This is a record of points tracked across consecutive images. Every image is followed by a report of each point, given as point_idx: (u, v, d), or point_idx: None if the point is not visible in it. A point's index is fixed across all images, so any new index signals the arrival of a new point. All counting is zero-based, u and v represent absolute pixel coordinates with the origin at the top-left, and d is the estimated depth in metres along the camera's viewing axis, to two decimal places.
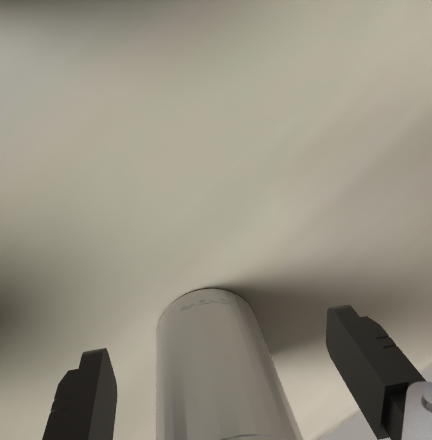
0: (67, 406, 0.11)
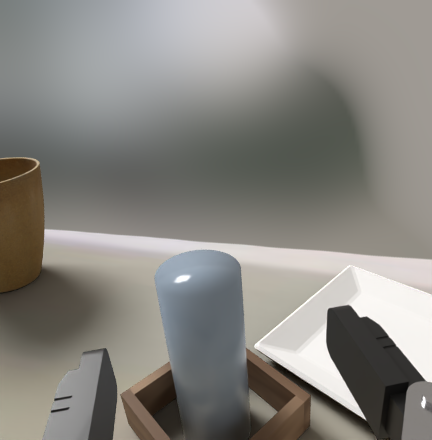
0: (67, 406, 0.11)
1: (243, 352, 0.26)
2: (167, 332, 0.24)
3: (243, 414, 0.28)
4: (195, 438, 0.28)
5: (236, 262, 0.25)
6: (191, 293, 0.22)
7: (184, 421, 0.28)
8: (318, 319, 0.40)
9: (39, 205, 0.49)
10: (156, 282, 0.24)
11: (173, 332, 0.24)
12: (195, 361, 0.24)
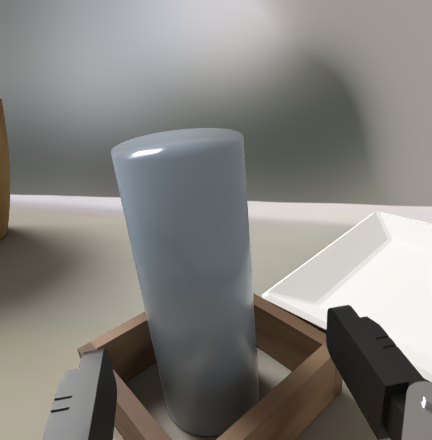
0: (67, 406, 0.11)
1: (248, 273, 0.17)
2: (132, 235, 0.16)
3: (248, 370, 0.19)
4: (180, 405, 0.19)
5: (236, 132, 0.17)
6: (164, 157, 0.14)
7: (164, 381, 0.19)
8: (341, 267, 0.31)
9: (0, 147, 0.41)
10: (113, 153, 0.15)
11: (140, 231, 0.15)
12: (175, 276, 0.16)
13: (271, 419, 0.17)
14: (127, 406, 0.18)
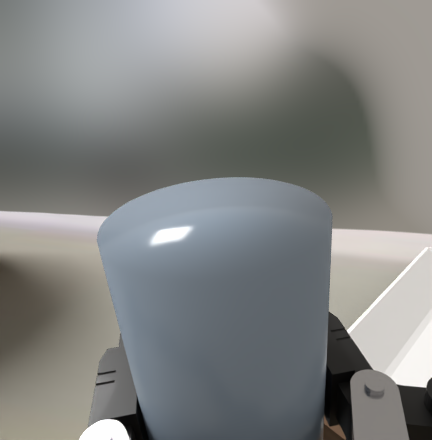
0: (110, 380, 0.12)
1: (323, 417, 0.11)
2: (135, 376, 0.09)
3: None
4: None
5: (310, 195, 0.10)
6: (198, 266, 0.07)
7: None
8: (400, 329, 0.24)
9: None
10: (100, 241, 0.09)
11: (148, 379, 0.09)
12: None
13: None
14: None
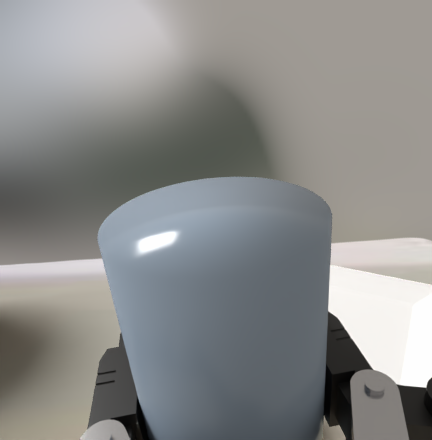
0: (110, 380, 0.12)
1: (322, 416, 0.11)
2: (135, 374, 0.09)
3: None
4: None
5: (310, 194, 0.10)
6: (198, 265, 0.07)
7: None
8: None
9: None
10: (101, 240, 0.09)
11: (148, 378, 0.09)
12: None
13: None
14: None
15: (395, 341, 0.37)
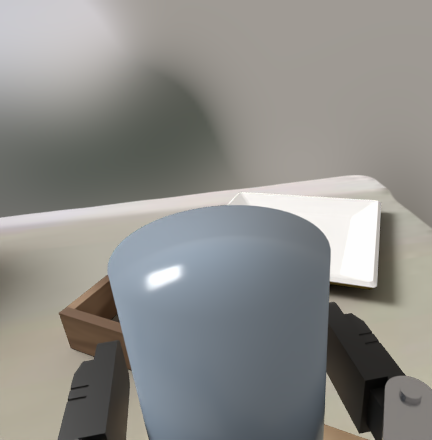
0: (83, 395, 0.11)
1: (322, 439, 0.11)
2: (142, 400, 0.10)
3: None
4: None
5: (310, 226, 0.10)
6: (204, 303, 0.08)
7: None
8: None
9: None
10: (110, 273, 0.09)
11: (155, 405, 0.09)
12: None
13: None
14: (117, 328, 0.26)
15: (336, 242, 0.40)
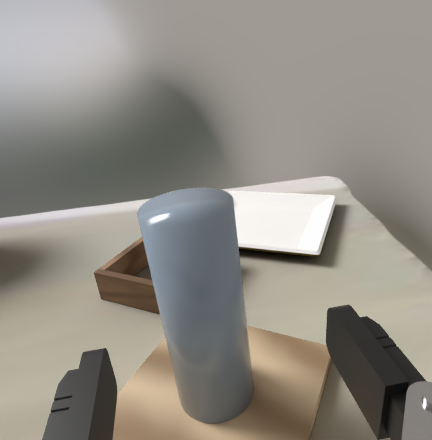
0: (67, 406, 0.11)
1: (240, 298, 0.23)
2: (154, 274, 0.22)
3: (243, 371, 0.25)
4: (191, 400, 0.25)
5: (228, 195, 0.22)
6: (177, 222, 0.20)
7: (179, 382, 0.25)
8: None
9: None
10: (139, 216, 0.21)
11: (159, 272, 0.21)
12: (186, 304, 0.21)
13: None
14: (135, 280, 0.38)
15: (299, 226, 0.52)
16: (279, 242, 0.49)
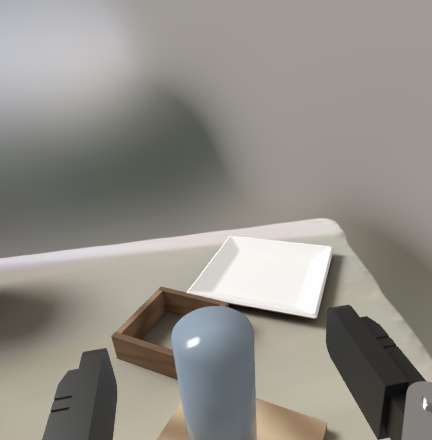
0: (67, 406, 0.11)
1: (254, 405, 0.27)
2: (183, 390, 0.26)
3: None
4: None
5: (248, 322, 0.26)
6: (208, 359, 0.23)
7: None
8: (219, 271, 0.60)
9: None
10: (173, 345, 0.25)
11: (189, 392, 0.25)
12: (210, 418, 0.25)
13: None
14: (150, 347, 0.42)
15: (297, 280, 0.57)
16: (279, 298, 0.53)
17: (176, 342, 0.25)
